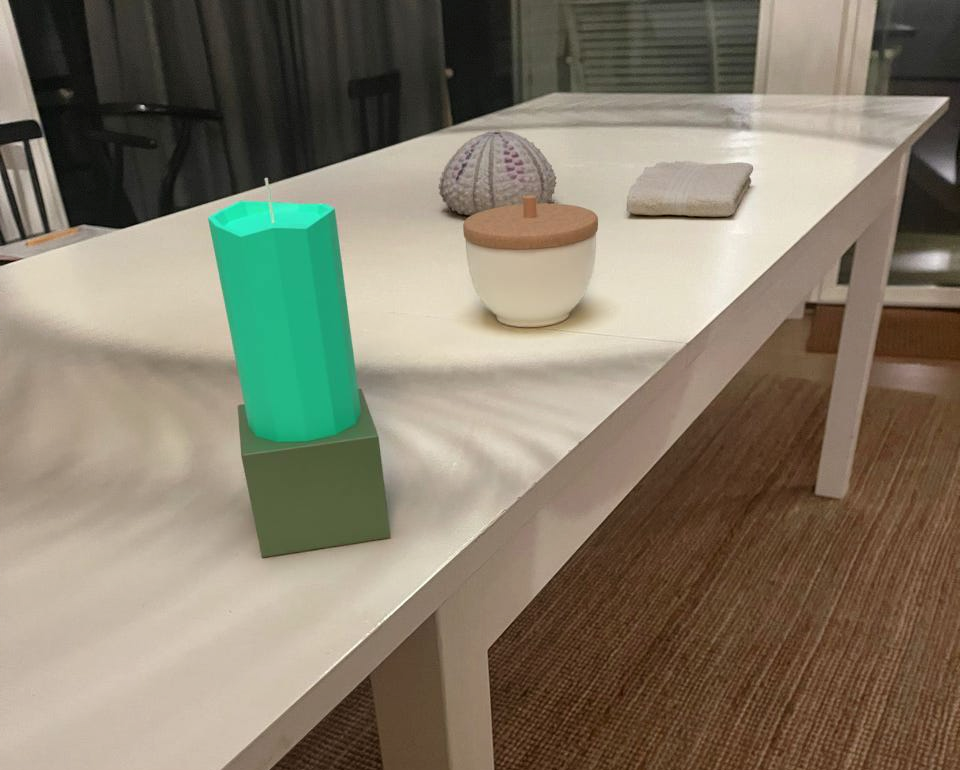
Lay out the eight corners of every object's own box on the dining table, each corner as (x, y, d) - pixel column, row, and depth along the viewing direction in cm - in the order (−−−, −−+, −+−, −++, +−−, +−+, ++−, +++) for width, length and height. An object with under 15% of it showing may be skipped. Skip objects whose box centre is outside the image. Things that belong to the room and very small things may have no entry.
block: (261, 558, 55) (240, 455, 52) (256, 500, 61) (237, 404, 58) (390, 538, 56) (378, 435, 53) (373, 483, 62) (361, 387, 59)
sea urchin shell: (560, 218, 114) (560, 138, 110) (438, 225, 114) (432, 146, 110) (553, 192, 125) (552, 119, 120) (441, 199, 125) (436, 126, 121)
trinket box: (443, 326, 86) (434, 206, 80) (512, 290, 93) (508, 178, 88) (555, 344, 81) (554, 217, 75) (619, 305, 88) (622, 187, 82)
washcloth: (753, 184, 123) (755, 155, 121) (736, 221, 109) (739, 189, 107) (653, 183, 126) (654, 156, 124) (624, 219, 112) (625, 188, 110)
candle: (228, 420, 56) (178, 181, 49) (321, 389, 59) (287, 160, 52) (286, 452, 52) (241, 198, 45) (383, 417, 55) (354, 174, 48)
